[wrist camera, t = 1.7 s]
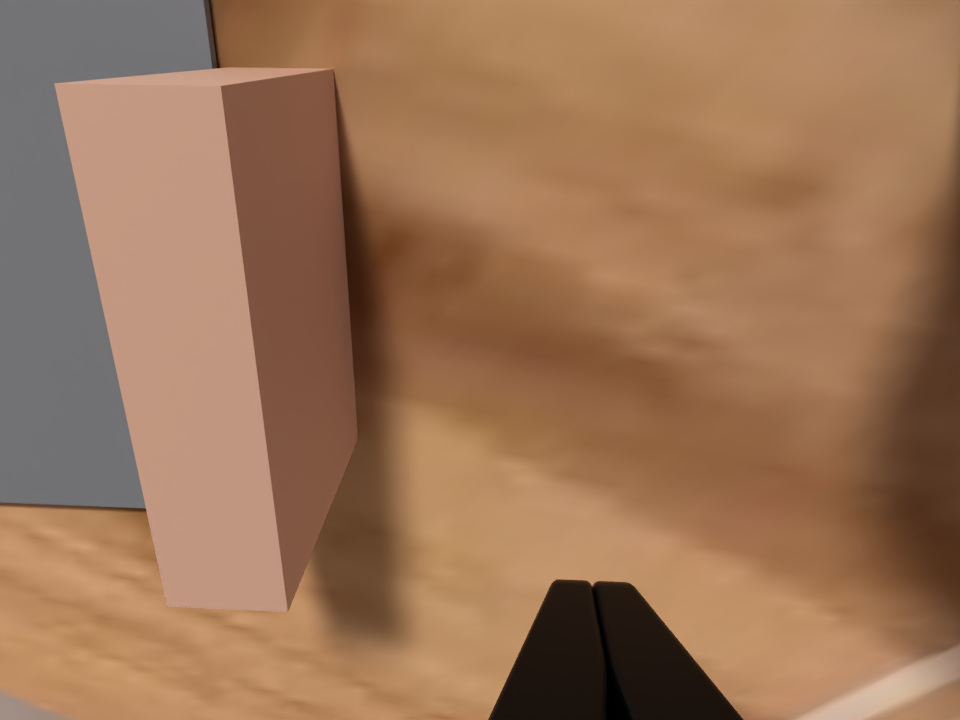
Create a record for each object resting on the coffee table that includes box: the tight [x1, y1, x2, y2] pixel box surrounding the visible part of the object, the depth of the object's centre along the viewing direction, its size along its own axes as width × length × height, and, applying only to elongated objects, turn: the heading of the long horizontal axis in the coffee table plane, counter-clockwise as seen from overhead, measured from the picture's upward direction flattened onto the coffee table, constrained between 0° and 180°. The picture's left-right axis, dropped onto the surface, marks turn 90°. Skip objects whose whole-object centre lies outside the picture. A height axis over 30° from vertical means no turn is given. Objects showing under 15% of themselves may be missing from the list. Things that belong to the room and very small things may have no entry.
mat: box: [0, 0, 217, 508], centre depth 19 cm, size 12×15×1 cm
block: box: [54, 67, 358, 612], centre depth 16 cm, size 2×10×7 cm, turn 179°
